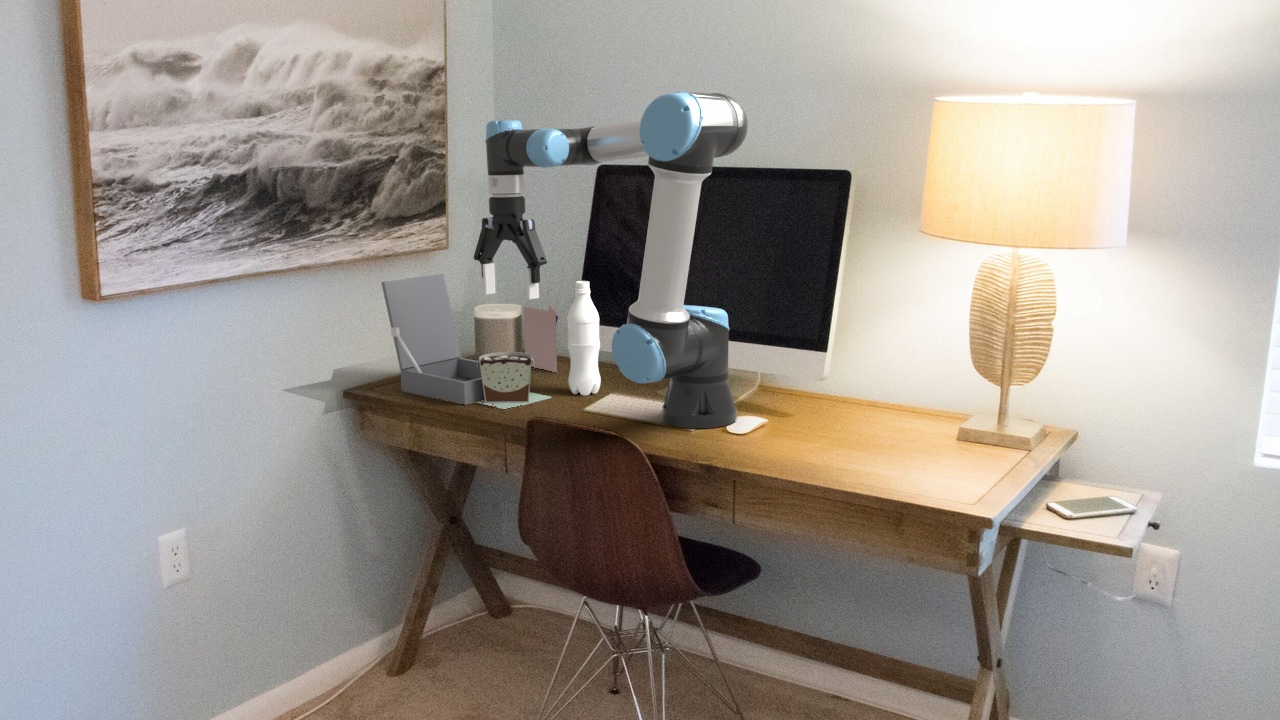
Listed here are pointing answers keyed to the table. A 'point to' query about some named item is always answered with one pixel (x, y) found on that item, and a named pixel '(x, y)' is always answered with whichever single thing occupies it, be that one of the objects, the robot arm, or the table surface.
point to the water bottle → (583, 342)
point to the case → (429, 341)
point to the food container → (506, 376)
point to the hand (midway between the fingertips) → (511, 296)
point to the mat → (532, 398)
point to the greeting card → (541, 337)
